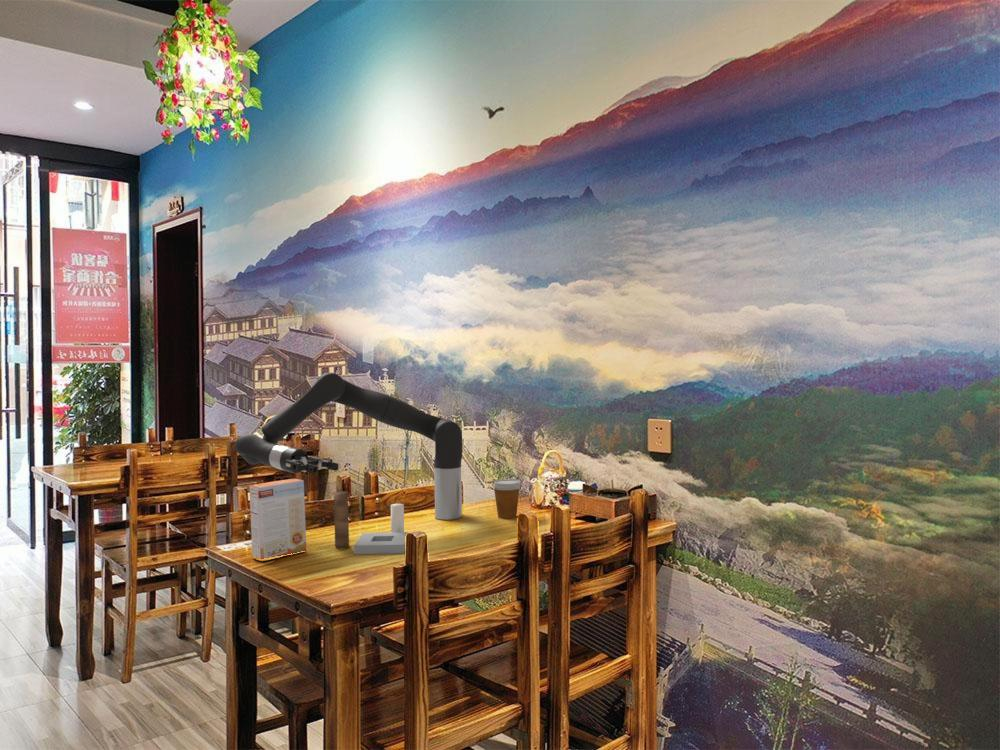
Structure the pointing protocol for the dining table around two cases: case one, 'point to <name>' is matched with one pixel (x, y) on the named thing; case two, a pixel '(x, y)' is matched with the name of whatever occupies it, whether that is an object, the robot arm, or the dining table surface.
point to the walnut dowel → (341, 519)
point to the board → (380, 543)
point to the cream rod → (397, 518)
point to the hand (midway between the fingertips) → (327, 468)
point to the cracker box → (277, 518)
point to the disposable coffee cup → (506, 497)
